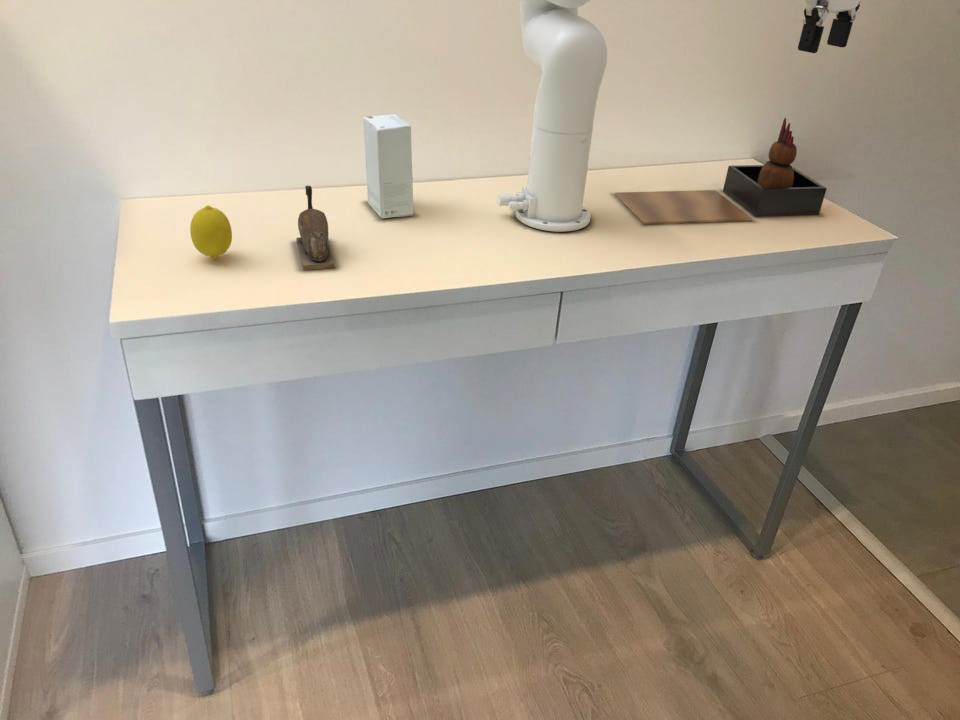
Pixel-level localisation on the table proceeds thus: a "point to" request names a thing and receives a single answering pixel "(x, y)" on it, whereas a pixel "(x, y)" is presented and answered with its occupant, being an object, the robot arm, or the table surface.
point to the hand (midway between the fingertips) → (821, 48)
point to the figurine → (314, 238)
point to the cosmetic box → (389, 165)
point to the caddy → (773, 193)
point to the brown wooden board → (681, 207)
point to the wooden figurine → (779, 162)
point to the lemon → (211, 232)
